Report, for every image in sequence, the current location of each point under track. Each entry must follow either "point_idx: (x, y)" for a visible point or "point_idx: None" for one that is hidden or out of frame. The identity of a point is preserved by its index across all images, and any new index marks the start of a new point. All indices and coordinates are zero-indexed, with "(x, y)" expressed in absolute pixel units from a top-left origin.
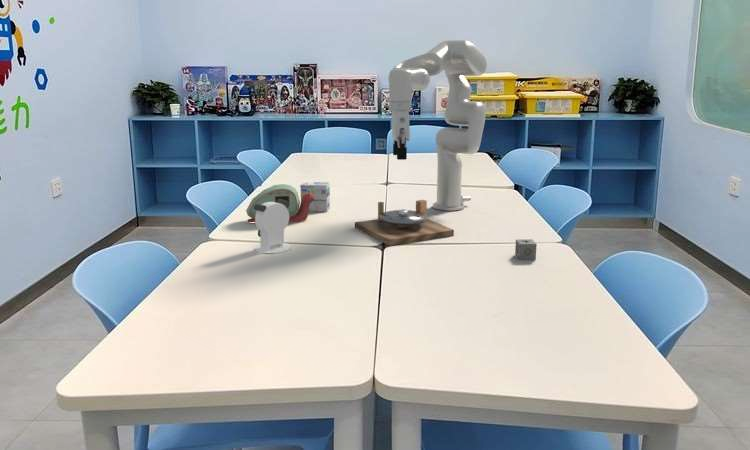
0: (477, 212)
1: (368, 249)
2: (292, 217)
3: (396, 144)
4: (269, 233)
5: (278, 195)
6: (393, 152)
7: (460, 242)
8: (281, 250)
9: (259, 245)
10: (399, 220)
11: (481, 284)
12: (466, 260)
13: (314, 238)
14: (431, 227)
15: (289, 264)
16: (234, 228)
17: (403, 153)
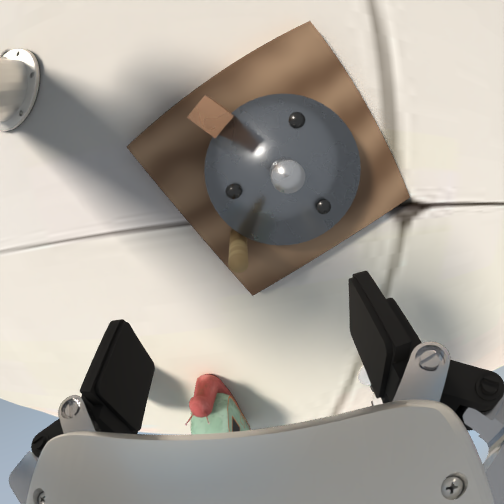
0: (50, 7)
1: (419, 234)
2: (224, 393)
3: (128, 420)
4: None
5: None
6: (149, 380)
7: (367, 21)
8: None
9: (370, 383)
10: (348, 182)
11: None
12: (472, 50)
13: (337, 337)
14: (290, 80)
15: (452, 326)
16: (274, 425)
17: (403, 322)
